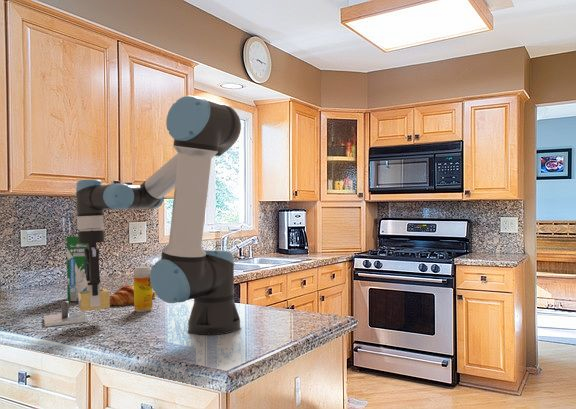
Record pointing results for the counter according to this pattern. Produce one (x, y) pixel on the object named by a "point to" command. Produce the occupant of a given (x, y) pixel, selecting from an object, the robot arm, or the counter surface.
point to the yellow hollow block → (85, 300)
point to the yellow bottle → (142, 289)
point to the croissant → (125, 296)
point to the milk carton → (75, 268)
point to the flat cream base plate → (65, 317)
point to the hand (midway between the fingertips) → (93, 303)
